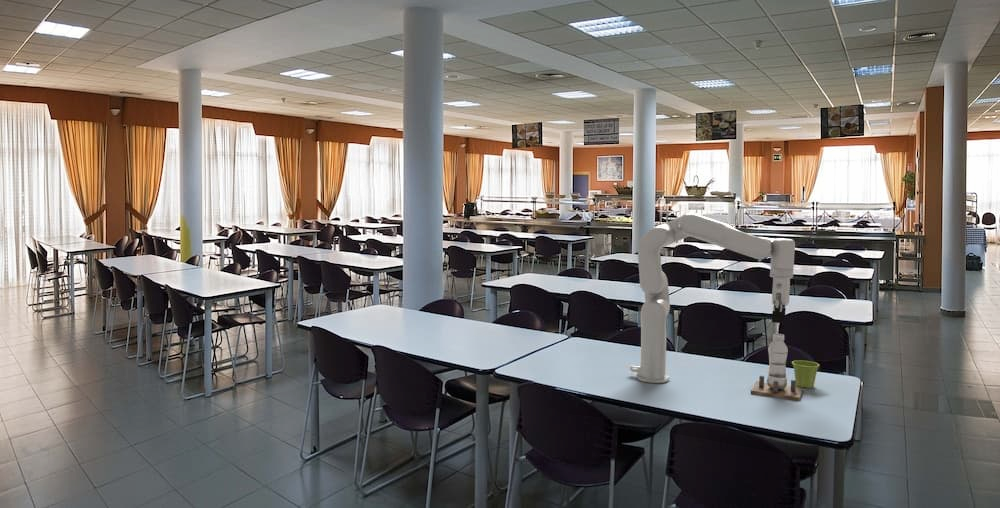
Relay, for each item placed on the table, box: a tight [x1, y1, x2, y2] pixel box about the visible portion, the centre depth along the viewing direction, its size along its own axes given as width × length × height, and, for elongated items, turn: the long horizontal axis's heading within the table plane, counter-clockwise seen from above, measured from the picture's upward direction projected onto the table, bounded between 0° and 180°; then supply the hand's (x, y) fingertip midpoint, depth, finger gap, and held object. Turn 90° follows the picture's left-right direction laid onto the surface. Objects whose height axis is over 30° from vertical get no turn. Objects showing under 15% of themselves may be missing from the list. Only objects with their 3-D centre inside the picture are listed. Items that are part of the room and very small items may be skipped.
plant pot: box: [791, 359, 820, 389], centre depth 238 cm, size 9×9×9 cm
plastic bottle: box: [766, 333, 789, 390], centre depth 229 cm, size 6×7×20 cm
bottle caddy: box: [750, 375, 804, 402], centre depth 230 cm, size 16×13×5 cm
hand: (778, 320), depth 228 cm, fingers open, 9 cm apart
